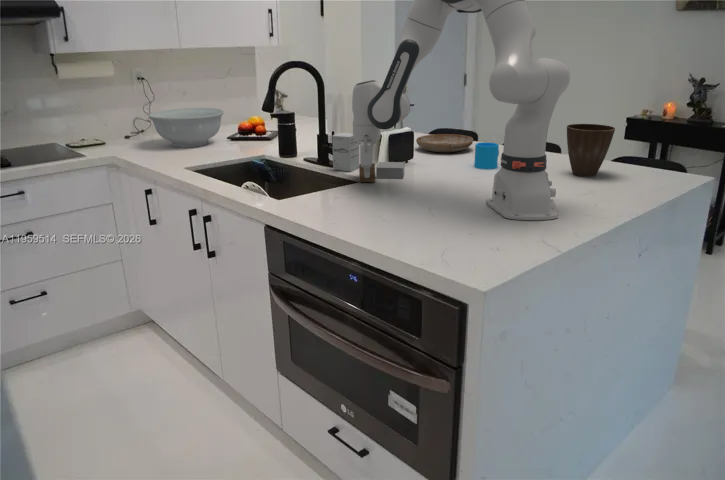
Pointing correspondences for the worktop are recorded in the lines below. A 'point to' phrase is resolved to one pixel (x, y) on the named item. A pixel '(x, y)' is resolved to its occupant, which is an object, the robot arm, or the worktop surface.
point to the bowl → (187, 125)
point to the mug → (486, 155)
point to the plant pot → (588, 147)
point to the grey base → (390, 170)
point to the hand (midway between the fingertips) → (367, 175)
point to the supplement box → (345, 152)
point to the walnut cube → (372, 174)
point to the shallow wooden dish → (444, 142)
